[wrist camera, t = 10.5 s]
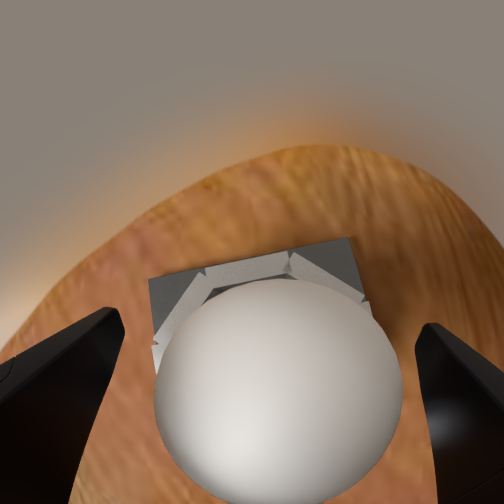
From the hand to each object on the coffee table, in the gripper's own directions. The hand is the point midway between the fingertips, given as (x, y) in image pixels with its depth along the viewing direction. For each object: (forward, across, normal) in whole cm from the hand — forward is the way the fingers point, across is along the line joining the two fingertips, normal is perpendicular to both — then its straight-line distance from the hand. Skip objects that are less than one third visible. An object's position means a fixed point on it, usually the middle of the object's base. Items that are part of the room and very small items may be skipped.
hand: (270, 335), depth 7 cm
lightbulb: (+4, 0, +7) cm, 8 cm away
